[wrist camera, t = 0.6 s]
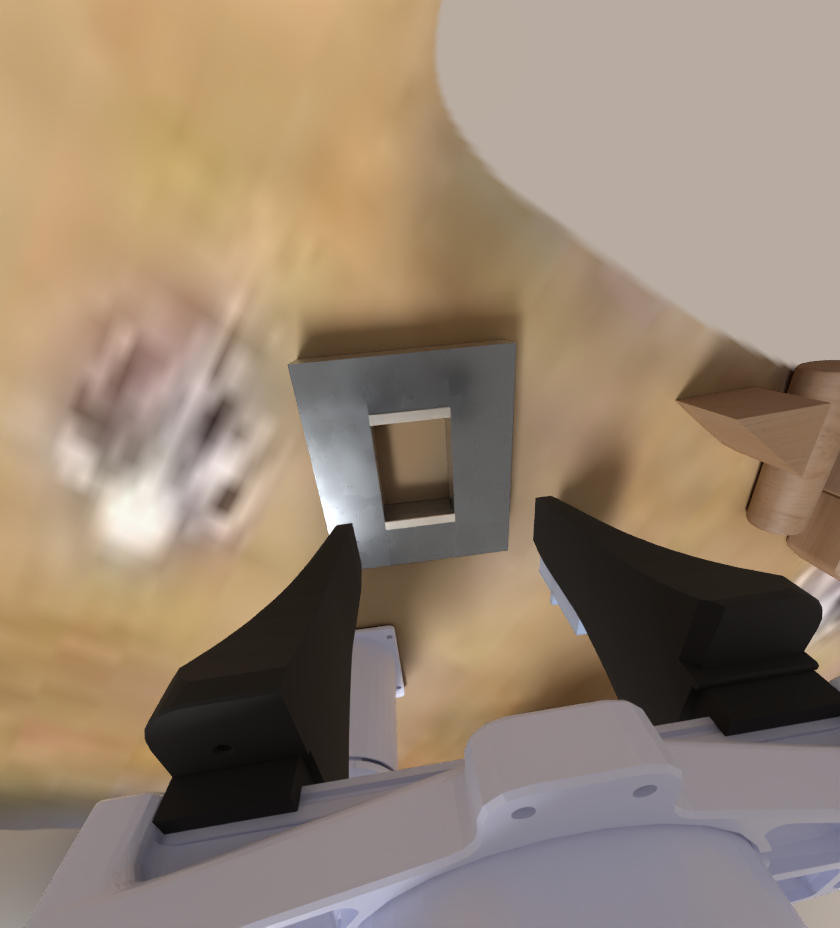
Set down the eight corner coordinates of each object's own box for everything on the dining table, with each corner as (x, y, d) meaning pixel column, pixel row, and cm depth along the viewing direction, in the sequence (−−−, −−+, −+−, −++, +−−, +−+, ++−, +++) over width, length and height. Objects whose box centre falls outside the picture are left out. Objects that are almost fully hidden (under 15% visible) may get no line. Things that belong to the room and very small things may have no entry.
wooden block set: (1067, 350, 18) (902, 596, 25) (913, 340, 23) (815, 547, 30) (759, 404, 17) (688, 638, 25) (673, 382, 22) (636, 582, 30)
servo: (572, 575, 28) (622, 647, 22) (538, 580, 28) (579, 653, 22) (583, 505, 25) (644, 566, 19) (544, 510, 25) (594, 573, 19)
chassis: (499, 533, 26) (508, 551, 24) (341, 553, 25) (338, 573, 23) (504, 339, 20) (516, 342, 18) (296, 359, 19) (287, 365, 17)
